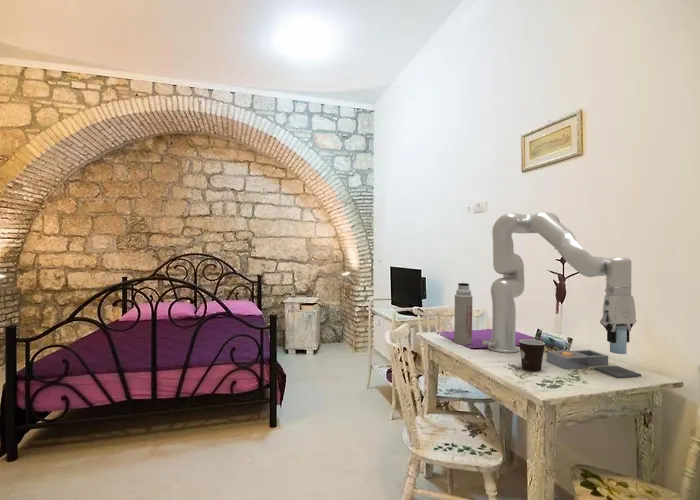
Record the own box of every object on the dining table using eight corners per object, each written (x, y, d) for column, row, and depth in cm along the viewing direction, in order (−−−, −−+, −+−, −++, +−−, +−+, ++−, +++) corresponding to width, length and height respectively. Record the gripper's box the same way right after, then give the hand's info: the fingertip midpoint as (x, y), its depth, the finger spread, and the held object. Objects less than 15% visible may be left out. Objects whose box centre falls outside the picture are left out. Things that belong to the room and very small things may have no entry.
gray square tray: (588, 366, 148) (588, 357, 148) (570, 359, 156) (570, 350, 156) (608, 364, 149) (608, 355, 149) (589, 358, 158) (589, 349, 158)
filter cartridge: (618, 354, 137) (618, 326, 137) (605, 350, 142) (606, 323, 142) (630, 353, 138) (630, 325, 138) (617, 350, 143) (618, 323, 143)
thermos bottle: (475, 343, 180) (476, 283, 180) (462, 345, 177) (463, 284, 176) (463, 339, 187) (463, 282, 187) (450, 341, 184) (451, 282, 183)
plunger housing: (565, 369, 144) (565, 358, 144) (546, 361, 153) (546, 351, 153) (588, 367, 146) (588, 357, 146) (568, 359, 156) (568, 350, 155)
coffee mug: (545, 373, 138) (546, 346, 138) (519, 370, 141) (519, 343, 141) (541, 364, 149) (542, 338, 149) (517, 362, 152) (518, 336, 152)
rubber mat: (617, 378, 134) (617, 376, 134) (593, 369, 144) (593, 367, 144) (641, 376, 136) (641, 374, 136) (616, 367, 146) (616, 365, 146)
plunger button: (566, 363, 147) (566, 354, 147) (559, 361, 151) (559, 352, 151) (574, 363, 148) (574, 354, 148) (567, 360, 152) (567, 351, 152)
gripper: (607, 293, 134) (607, 345, 134) (647, 292, 138) (647, 343, 138) (589, 291, 142) (589, 340, 142) (628, 290, 145) (628, 338, 145)
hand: (618, 341), depth 140 cm, fingers closed on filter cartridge, 5 cm apart
